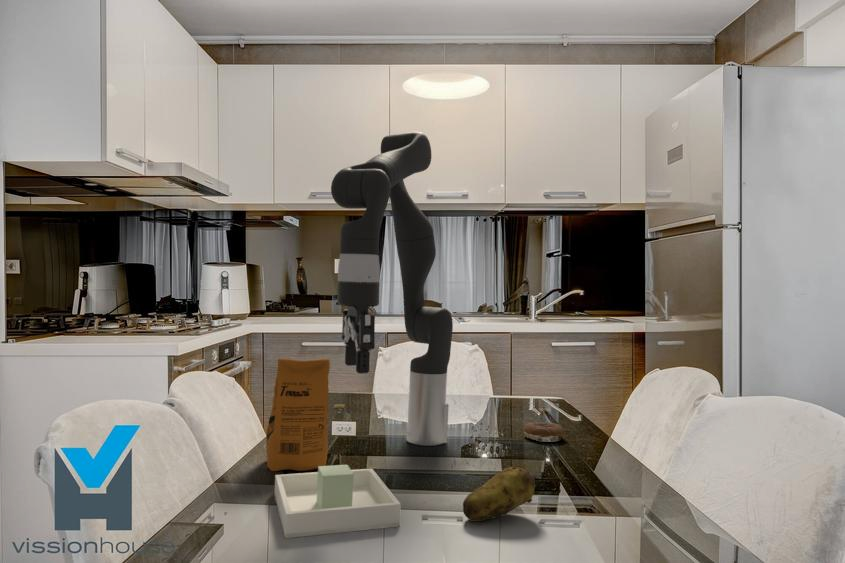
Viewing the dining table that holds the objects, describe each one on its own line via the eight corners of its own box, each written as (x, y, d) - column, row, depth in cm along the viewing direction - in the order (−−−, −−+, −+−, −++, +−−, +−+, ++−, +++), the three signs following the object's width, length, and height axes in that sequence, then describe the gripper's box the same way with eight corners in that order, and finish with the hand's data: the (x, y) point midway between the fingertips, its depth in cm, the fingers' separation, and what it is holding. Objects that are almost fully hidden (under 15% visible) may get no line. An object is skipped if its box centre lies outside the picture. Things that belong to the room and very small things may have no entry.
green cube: (345, 499, 96) (347, 464, 96) (351, 510, 91) (353, 474, 91) (316, 501, 94) (318, 466, 94) (321, 513, 89) (323, 476, 89)
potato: (454, 508, 96) (456, 461, 96) (525, 507, 98) (527, 461, 98) (465, 528, 88) (468, 477, 88) (543, 527, 90) (545, 477, 90)
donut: (548, 447, 138) (548, 431, 138) (514, 437, 146) (515, 422, 146) (572, 441, 145) (573, 425, 145) (539, 432, 153) (539, 417, 153)
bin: (371, 487, 104) (372, 468, 104) (399, 526, 87) (400, 503, 87) (274, 494, 98) (275, 474, 98) (285, 538, 81) (286, 514, 81)
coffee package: (265, 457, 118) (271, 354, 119) (324, 456, 121) (329, 355, 122) (263, 473, 109) (269, 360, 109) (328, 471, 112) (333, 362, 112)
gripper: (390, 281, 95) (387, 375, 95) (368, 279, 109) (366, 362, 109) (347, 280, 93) (345, 377, 93) (330, 278, 106) (328, 363, 106)
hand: (356, 368), depth 101 cm, fingers open, 8 cm apart
